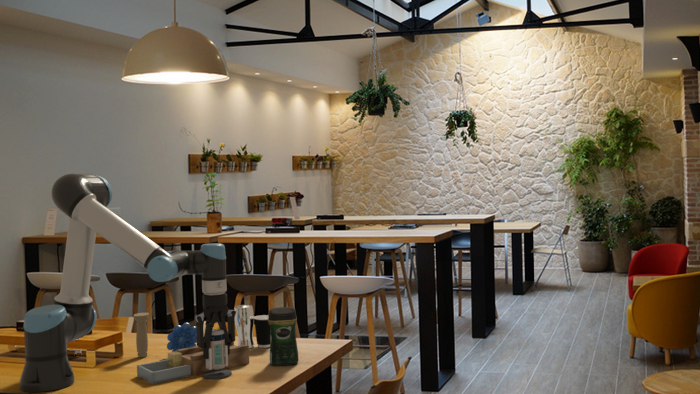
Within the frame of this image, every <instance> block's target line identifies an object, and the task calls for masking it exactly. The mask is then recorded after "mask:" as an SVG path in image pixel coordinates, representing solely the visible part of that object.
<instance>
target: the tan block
mask: <svg viewBox="0 0 700 394" xmlns="http://www.w3.org/2000/svg"><path fill="white" fill-rule="evenodd" d="M167 359H168V363H171V364H173V365H174V364H179V363H182V353H180V352H177V351H175V352H172V351H170V352H167Z"/></svg>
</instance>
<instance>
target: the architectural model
mask: <svg viewBox="0 0 700 394" xmlns="http://www.w3.org/2000/svg"><path fill="white" fill-rule="evenodd" d="M69 351H74V355H75V354H77V353H81V354H82V349H81V350H73V349H70V348H69Z"/></svg>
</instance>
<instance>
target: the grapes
mask: <svg viewBox="0 0 700 394" xmlns="http://www.w3.org/2000/svg"><path fill="white" fill-rule="evenodd" d="M167 341H168V343H167V344H166V348H167V350H168V351H171V352H175V351H177V350H179V349H184V348H189V347H195V346H197V335H196V325H194V326H193V325H192V326H191V324H190V323H189V322H184V323H183V324H182V325H179V324H177V325H175V326H174V327H173V330H172V332H170V333H168V334H167Z"/></svg>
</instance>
